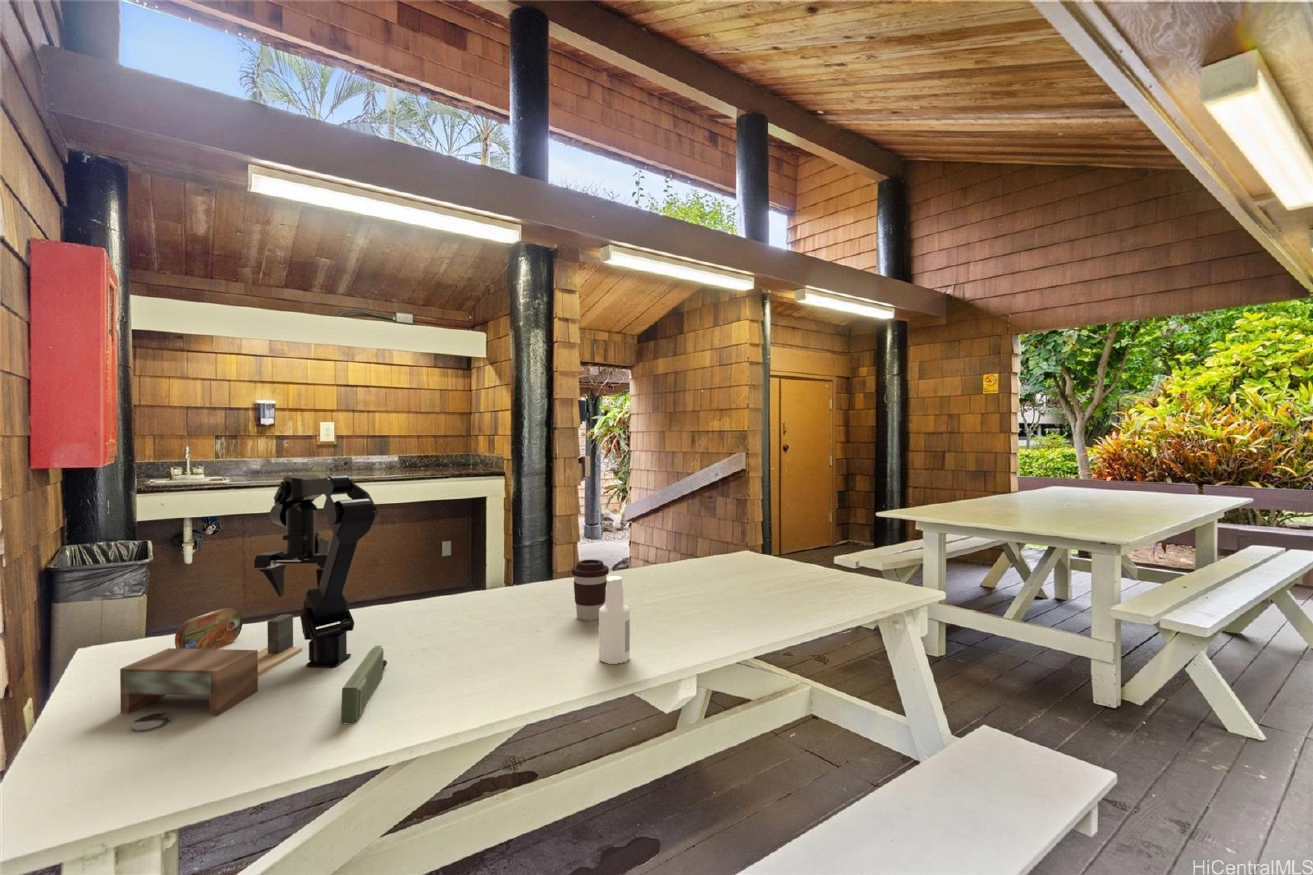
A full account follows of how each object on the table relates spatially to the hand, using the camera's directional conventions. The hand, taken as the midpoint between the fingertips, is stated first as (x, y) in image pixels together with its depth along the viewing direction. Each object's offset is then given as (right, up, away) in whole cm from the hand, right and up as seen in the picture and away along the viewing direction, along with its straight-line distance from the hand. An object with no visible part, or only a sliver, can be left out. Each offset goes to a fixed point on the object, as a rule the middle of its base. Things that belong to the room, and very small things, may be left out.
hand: (301, 596), depth 139 cm
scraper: (-3, -12, -12) cm, 17 cm away
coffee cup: (+65, -12, +23) cm, 70 cm away
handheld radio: (+27, -13, -23) cm, 38 cm away
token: (-4, -13, -36) cm, 39 cm away
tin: (-21, -12, -1) cm, 24 cm away
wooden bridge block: (-4, -12, -28) cm, 30 cm away
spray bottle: (+73, -12, -6) cm, 74 cm away
